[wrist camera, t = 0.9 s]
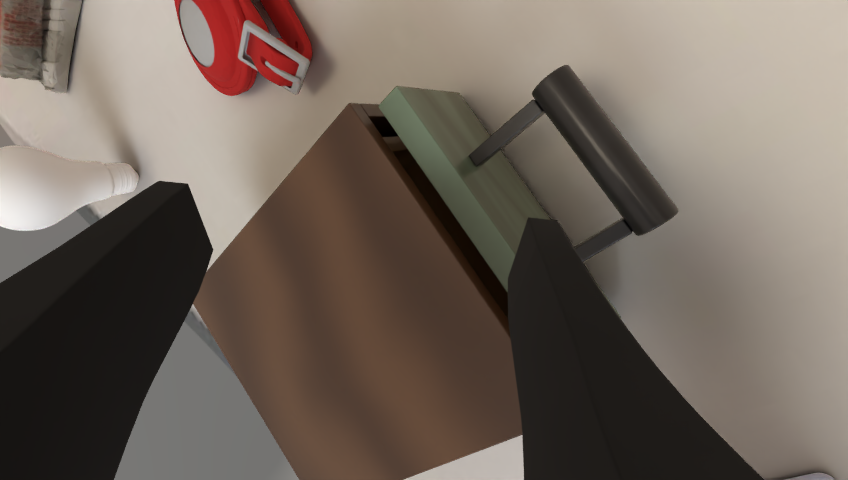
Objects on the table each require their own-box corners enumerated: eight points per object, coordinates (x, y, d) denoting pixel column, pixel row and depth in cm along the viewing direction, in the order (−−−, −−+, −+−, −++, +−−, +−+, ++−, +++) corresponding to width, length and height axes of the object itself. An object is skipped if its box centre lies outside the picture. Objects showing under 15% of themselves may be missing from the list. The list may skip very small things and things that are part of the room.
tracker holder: (193, 108, 32) (129, -57, 28) (249, 94, 35) (198, -58, 31) (285, 101, 24) (214, -132, 20) (348, 83, 27) (298, -124, 23)
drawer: (540, 12, 20) (492, -23, 15) (732, 263, 18) (748, 314, 13) (297, 251, 31) (224, 276, 26) (406, 420, 29) (350, 480, 24)
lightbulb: (140, 223, 41) (-20, 254, 32) (109, 166, 41) (-58, 181, 32) (167, 187, 38) (-3, 209, 28) (132, 126, 38) (-46, 129, 29)
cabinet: (436, 106, 24) (348, 102, 18) (600, 335, 22) (566, 418, 16) (282, 260, 33) (186, 294, 27) (392, 433, 31) (318, 512, 25)
